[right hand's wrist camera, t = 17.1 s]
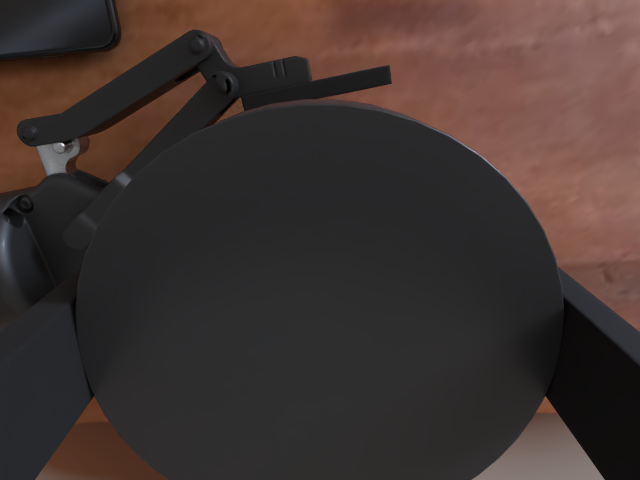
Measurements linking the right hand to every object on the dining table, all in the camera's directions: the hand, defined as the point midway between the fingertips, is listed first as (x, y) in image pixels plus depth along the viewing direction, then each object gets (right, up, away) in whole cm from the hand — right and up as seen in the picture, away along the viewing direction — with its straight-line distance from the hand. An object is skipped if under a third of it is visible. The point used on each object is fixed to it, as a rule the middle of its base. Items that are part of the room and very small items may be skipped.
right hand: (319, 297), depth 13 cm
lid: (0, -1, -2) cm, 3 cm away
